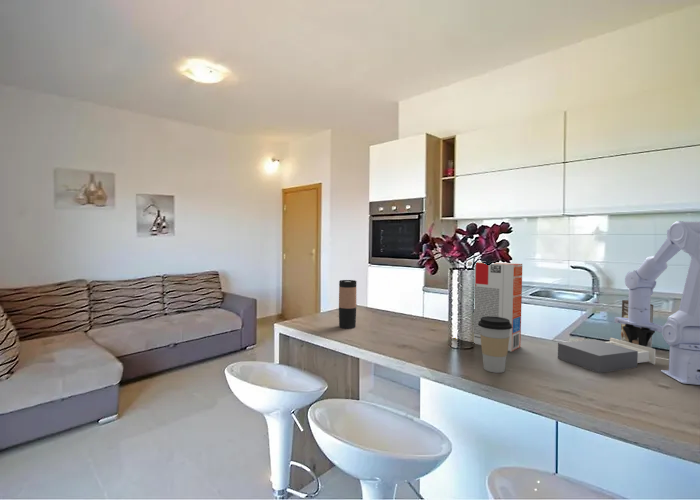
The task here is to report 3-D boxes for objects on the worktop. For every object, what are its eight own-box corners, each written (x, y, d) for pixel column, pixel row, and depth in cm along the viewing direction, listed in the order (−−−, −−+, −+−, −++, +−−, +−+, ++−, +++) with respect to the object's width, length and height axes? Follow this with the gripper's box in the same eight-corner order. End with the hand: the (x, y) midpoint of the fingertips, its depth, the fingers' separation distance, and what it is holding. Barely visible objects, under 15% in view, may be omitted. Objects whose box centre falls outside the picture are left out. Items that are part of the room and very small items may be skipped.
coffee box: (619, 341, 143) (621, 299, 142) (638, 342, 141) (640, 300, 141) (632, 347, 134) (634, 303, 133) (653, 349, 132) (654, 304, 132)
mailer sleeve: (598, 372, 108) (599, 355, 107) (557, 358, 121) (558, 342, 121) (637, 367, 113) (637, 351, 113) (593, 353, 126) (594, 339, 126)
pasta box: (520, 346, 133) (522, 263, 133) (511, 351, 128) (513, 264, 127) (461, 334, 149) (463, 260, 149) (451, 338, 144) (453, 261, 143)
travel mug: (335, 325, 163) (336, 280, 162) (351, 324, 166) (352, 279, 166) (342, 329, 156) (343, 282, 155) (359, 327, 159) (359, 281, 159)
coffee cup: (502, 364, 114) (503, 315, 114) (517, 375, 105) (518, 322, 105) (472, 364, 114) (473, 315, 114) (484, 375, 105) (485, 322, 104)
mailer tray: (618, 369, 110) (619, 351, 110) (576, 354, 123) (576, 339, 123) (662, 362, 116) (663, 346, 116) (618, 349, 130) (618, 335, 130)
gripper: (608, 305, 128) (607, 344, 128) (655, 313, 114) (653, 356, 115) (623, 304, 130) (622, 342, 131) (670, 311, 116) (668, 354, 117)
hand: (637, 349), depth 123 cm, fingers closed on mailer tray, 2 cm apart
